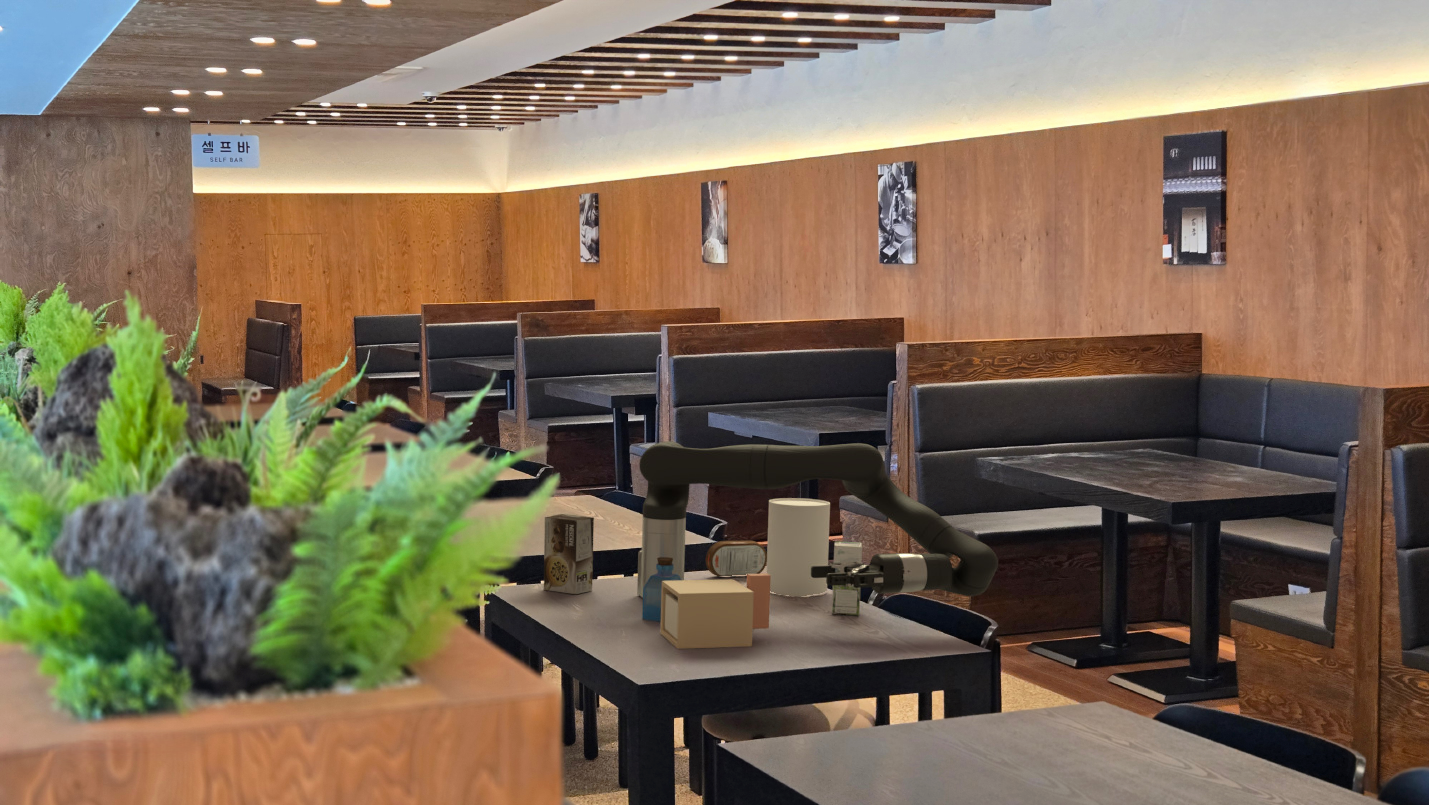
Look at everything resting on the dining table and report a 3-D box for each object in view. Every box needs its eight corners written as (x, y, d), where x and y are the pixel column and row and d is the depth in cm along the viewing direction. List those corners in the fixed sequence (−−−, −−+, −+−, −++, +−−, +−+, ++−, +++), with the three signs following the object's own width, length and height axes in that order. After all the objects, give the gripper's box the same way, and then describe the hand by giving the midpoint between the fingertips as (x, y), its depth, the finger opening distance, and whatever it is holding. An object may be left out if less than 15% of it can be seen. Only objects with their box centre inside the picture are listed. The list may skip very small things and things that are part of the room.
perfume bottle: (684, 617, 285) (686, 557, 284) (670, 622, 279) (672, 562, 279) (656, 614, 288) (658, 554, 287) (642, 619, 282) (644, 559, 281)
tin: (762, 574, 339) (763, 539, 338) (768, 576, 336) (769, 541, 335) (704, 577, 332) (705, 541, 332) (709, 579, 330) (710, 543, 329)
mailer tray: (678, 641, 258) (680, 581, 258) (664, 628, 268) (666, 571, 268) (775, 638, 263) (777, 579, 263) (758, 626, 273) (760, 569, 273)
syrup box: (859, 610, 298) (862, 541, 297) (859, 616, 292) (862, 545, 291) (832, 609, 298) (834, 540, 297) (831, 614, 292) (834, 544, 292)
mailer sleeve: (677, 648, 257) (679, 593, 256) (660, 633, 269) (661, 580, 269) (751, 646, 261) (753, 592, 260) (731, 631, 273) (733, 579, 273)
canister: (819, 599, 309) (823, 507, 308) (759, 594, 313) (762, 503, 312) (832, 588, 322) (835, 500, 321) (774, 584, 326) (777, 496, 325)
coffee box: (593, 591, 310) (595, 517, 309) (575, 595, 305) (577, 520, 304) (560, 585, 315) (562, 513, 314) (541, 589, 310) (543, 515, 309)
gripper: (884, 548, 282) (806, 550, 277) (913, 559, 268) (832, 561, 263) (883, 586, 282) (805, 589, 277) (913, 599, 268) (832, 602, 264)
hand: (819, 575), depth 270 cm, fingers open, 8 cm apart
